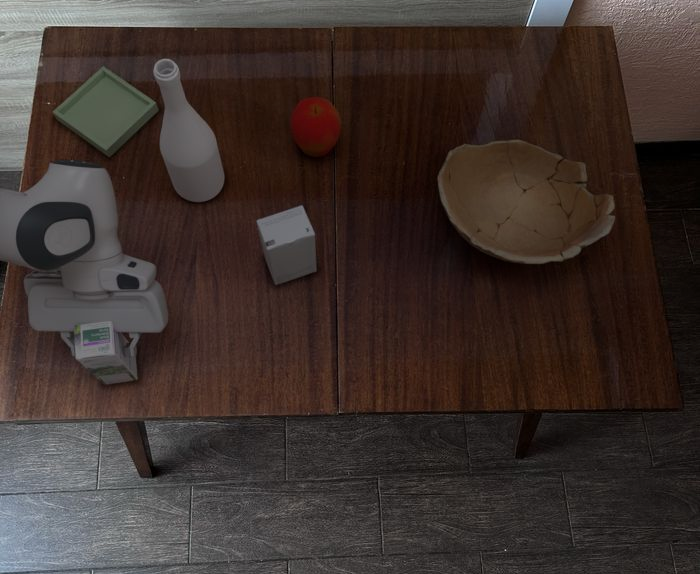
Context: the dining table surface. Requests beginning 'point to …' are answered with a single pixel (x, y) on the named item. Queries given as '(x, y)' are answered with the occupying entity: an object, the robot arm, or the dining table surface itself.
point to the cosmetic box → (288, 244)
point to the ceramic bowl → (522, 202)
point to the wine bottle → (187, 141)
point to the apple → (315, 126)
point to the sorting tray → (106, 111)
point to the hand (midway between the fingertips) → (104, 355)
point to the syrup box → (104, 353)
